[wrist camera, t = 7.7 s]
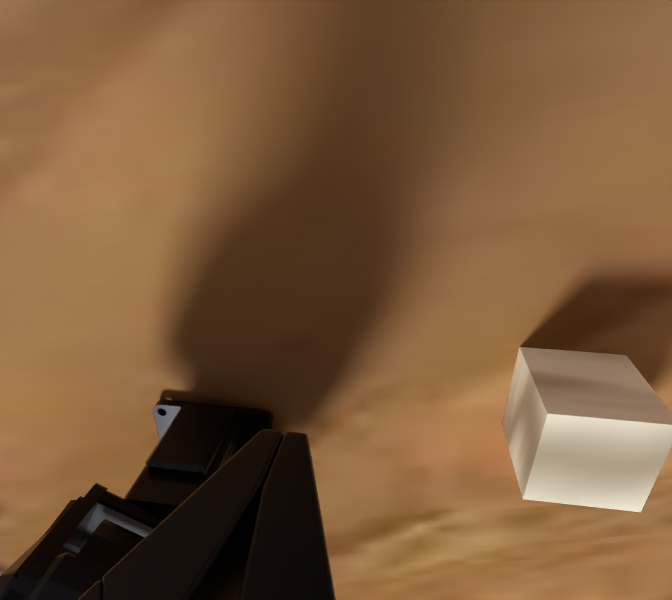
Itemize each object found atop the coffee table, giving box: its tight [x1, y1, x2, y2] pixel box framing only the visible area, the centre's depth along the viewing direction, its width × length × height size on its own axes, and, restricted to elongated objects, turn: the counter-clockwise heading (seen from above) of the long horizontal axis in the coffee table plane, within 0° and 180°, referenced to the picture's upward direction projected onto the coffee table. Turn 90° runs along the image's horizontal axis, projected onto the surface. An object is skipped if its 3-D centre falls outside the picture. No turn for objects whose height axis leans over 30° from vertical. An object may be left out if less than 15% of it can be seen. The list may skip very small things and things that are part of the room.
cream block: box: [502, 347, 672, 512], centre depth 19 cm, size 4×4×4 cm
